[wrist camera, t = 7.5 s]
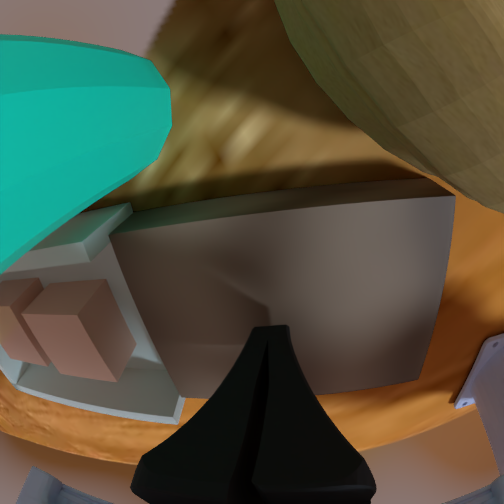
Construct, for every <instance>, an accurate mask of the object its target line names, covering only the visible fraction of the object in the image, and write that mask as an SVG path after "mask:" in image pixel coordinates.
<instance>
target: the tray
mask: <svg viewBox="0 0 504 504" xmlns="http://www.w3.org/2000/svg"><path fill="white" fill-rule="evenodd" d="M132 213H133V210H132V206H131V203H130V202H129V203H124V204H119V205H115V206H110V207H105V208H101V209H97V210H92V211H88V212H84V213H80V214H77V215H76V216H74V217H73V218H71V219H70V220H68V221H67V222H66V223H64V224H63V225H62V226H60V227H59V228H58V229H56V230H55V231H54V232H52V233H51V234H50V235H48V236H47V237H46V238H44V239H43V240H42V241H40V242H39V243H38V244H37V245H35V246H34V247H33V248H32V249H30V250H29V251H28V252H27V253H25V254H24V255H23V256H22V257H21V258H19V259H18V260H17V261H16V262H15V263H13V264H12V265H11V266H10V267H9V268H8V269H6V270H5V271H4V272H3V273H2V274H1V275H0V283H1V282H2V281H6V280H16V279H27V278H37V277H39V279H40V282H41V284H42V286H43V288H44V289H45V288H46V287H47V286H48V285H49V284H50V283H60V282H72V281H85V280H97V279H106V280H107V282H108V285H109V287H110V289H111V291H112V294H113V296H114V298H115V300H116V303H117V305H118V307H119V309H120V311H121V313H122V315H123V317H124V319H125V322H126V324H127V326H128V328H129V330H130V332H131V334H132V336H133V338H134V339H135V341H136V343H137V345H136V347H135V349H134V351H133V353H132V355H131V357H130V359H129V361H128V363H127V365H126V367H125V369H124V371H123V373H122V375H121V377H120V379H119V381H118V382H111V381H103V380H96V379H89V378H83V377H77V376H71V375H65V374H60V373H59V371H58V370H57V368H56V367H55V366H54V364H53V363H52V361H51V363H50V364H49V366H48V367H47V366H42V365H37V364H32V363H28V362H23V361H19V360H15V359H11V358H10V357H9V356H8V354H7V353H6V351H5V350H4V348H3V347H2V346H1V344H0V369H1V371H2V372H3V373H4V375H5V376H6V377H7V378H8V380H9V381H10V382H11V383H12V385H13V386H14V387H15V388H16V390H19V391H22V392H25V393H28V394H31V395H34V396H37V397H40V398H44V399H47V400H50V401H54V402H57V403H61V404H65V405H69V406H73V407H77V408H81V409H85V410H89V411H94V412H98V413H103V414H108V415H113V416H119V417H124V418H130V419H137V420H143V421H151V422H158V423H167V424H176V425H178V422H179V419H180V415H181V412H182V409H183V405H184V402H185V398H183V397H181V396H180V394H179V392H178V390H177V388H176V387H175V385H174V383H173V381H172V379H171V377H170V375H169V374H168V372H167V370H166V368H165V366H164V364H163V362H162V360H161V358H160V356H159V354H158V352H157V350H156V348H155V346H154V344H153V342H152V340H151V338H150V336H149V334H148V331H147V329H146V327H145V325H144V323H143V321H142V318H141V316H140V314H139V312H138V309H137V307H136V305H135V303H134V300H133V298H132V296H131V293H130V291H129V288H128V286H127V283H126V281H125V279H124V276H123V274H122V271H121V268H120V266H119V263H118V261H117V258H116V255H115V253H114V250H113V247H112V244H111V242H110V239H109V236H108V235H109V234H110V233H111V232H112V231H113V230H114V229H115V228H116V227H117V226H119V225H120V224H121V223H122V222H123V221H124V220H125V219H126V218H128V217H129V216H130V215H131V214H132Z"/></svg>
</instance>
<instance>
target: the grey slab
mask: <svg viewBox="0 0 504 504" xmlns="http://www.w3.org/2000/svg"><path fill="white" fill-rule="evenodd" d="M455 198H456V196H455V195H454V194H452V193H451V192H449V191H448V190H446V189H445V188H443V187H442V186H440V185H439V184H437V183H436V182H434V181H432V180H431V179H429V178H419V179H400V180H384V181H370V182H357V183H345V184H334V185H323V186H313V187H303V188H294V189H285V190H277V191H268V192H260V193H253V194H245V195H238V196H231V197H224V198H217V199H210V200H203V201H197V202H191V203H184V204H178V205H172V206H166V207H161V208H155V209H149V210H144V211H138V212H133V213H132V214H131V215H130V216H129V217H128V218H126V219H125V220H124V221H123V222H122V223H121V224H120V225H119V226H117V227H116V228H115V229H114V230H113V231H112V232H111V233H110V234H109V235H108V236H109V239H110V242H111V244H112V247H113V250H114V253H115V255H116V258H117V261H118V263H119V266H120V268H121V271H122V274H123V276H124V279H125V281H126V283H127V286H128V288H129V291H130V293H131V296H132V298H133V300H134V303H135V305H136V307H137V309H138V312H139V314H140V316H141V318H142V321H143V323H144V325H145V327H146V329H147V331H148V334H149V336H150V338H151V340H152V342H153V344H154V346H155V348H156V350H157V352H158V354H159V356H160V358H161V360H162V362H163V364H164V366H165V368H166V370H167V372H168V374H169V375H170V377H171V379H172V381H173V383H174V385H175V387H176V388H177V390H178V392H179V394H180V396H181V397H183V398H205V399H209V398H210V397H211V396H212V395H213V394H214V392H215V391H216V390H217V388H218V387H219V386H220V384H221V383H222V381H223V380H224V379H225V377H226V376H227V374H228V373H229V371H230V370H231V368H232V367H233V365H234V363H235V361H236V360H237V358H238V356H239V355H240V353H241V351H242V349H243V347H244V345H245V343H246V341H247V339H248V337H249V335H250V333H251V330H252V329H253V328H254V327H259V326H273V325H285V324H286V325H288V326H289V327H290V336H291V342H292V345H293V349H294V352H295V355H296V357H297V360H298V362H299V365H300V367H301V369H302V372H303V374H304V376H305V378H306V380H307V382H308V384H309V386H310V388H311V390H312V391H313V393H314V395H323V394H333V393H341V392H349V391H357V390H364V389H370V388H376V387H382V386H388V385H393V384H399V383H404V382H409V381H413V380H418V378H419V375H420V373H421V370H422V367H423V363H424V360H425V357H426V354H427V351H428V347H429V344H430V340H431V337H432V333H433V330H434V326H435V322H436V318H437V314H438V310H439V306H440V301H441V297H442V292H443V287H444V282H445V277H446V271H447V265H448V259H449V253H450V246H451V239H452V230H453V221H454V211H455Z"/></svg>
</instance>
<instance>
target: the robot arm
mask: <svg viewBox="0 0 504 504" xmlns="http://www.w3.org/2000/svg"><path fill="white" fill-rule="evenodd" d="M473 403H475V404H476V407H477V409H478V411H479V414H480V417H481V419H482V422H483V425H484V427H485V430H486V433H487V436H488V438H489V441H490V444H491V447H492V450H493V453H494V457H495V460H496V463H497V466H498V470H499V473H500V477H498V478H497V479H495V480H494V481H493V482H492V483H491V484H490V485H487V486H485V487H483V488H481V489H479V490H476V491H474V492H471V493H469V494H467V495H464V496H461V497H459V498H456V499H454V500H451V501H448V502H445V503H442V504H504V333H503V334H500V335H497V336H493V337H490V338H488V339H486V340H485V341H484V343H483V345H482V347H481V350H480V352H479V354H478V357H477V359H476V361H475V363H474V365H473V368H472V370H471V372H470V374H469V376H468V378H467V380H466V382H465V384H464V386H463V388H462V390H461V392H460V394H459V395H458V397H457V399H456V401H455V403H454V407H455V409H458V408H461V407H464V406H468V405H470V404H473ZM130 488H131V490H132V492H133V493H134V494H135V495H137V496H138V497H140V498H141V499H143V500H145V501H146V502H148V503H149V504H371V498H372V497H373V496H374V494H375V493H376V484H375V480H374V478H373V475H372V473H371V471H370V469H369V467H368V465H367V463H366V461H365V459H364V458H363V457H362V456H361V455H360V454H359V453H358V452H357V451H356V449H355V448H354V447H353V446H352V445H351V444H350V443H349V442H348V441H347V439H346V438H345V437H344V436H343V435H342V434H341V432H340V431H339V430H338V429H337V427H336V426H335V425H334V423H333V422H332V420H331V419H330V418H329V416H328V415H327V414H326V412H325V411H324V409H323V408H322V406H321V405H320V403H319V401H318V400H317V398H316V396H315V395H314V393H313V391H312V390H311V388H310V386H309V384H308V382H307V380H306V378H305V376H304V374H303V372H302V369H301V367H300V365H299V362H298V360H297V357H296V355H295V352H294V349H293V345H292V342H291V336H290V327H289V326H288V325H286V324H285V325H273V326H259V327H254V328H253V329H252V330H251V333H250V335H249V337H248V339H247V341H246V343H245V345H244V347H243V349H242V351H241V353H240V355H239V356H238V358H237V360H236V361H235V363H234V365H233V367H232V368H231V370H230V371H229V373H228V374H227V376H226V377H225V379H224V380H223V381H222V383H221V384H220V386H219V387H218V388H217V390H216V391H215V392H214V394H213V395H212V396H211V397H210V398H209V400H208V401H207V402H206V403H205V404H204V405H203V406H202V407H201V408H200V410H199V411H198V412H197V413H196V414H195V415H194V416H193V417H192V418H191V419H190V420H189V421H188V422H187V423H185V424H184V425H183V426H182V427H181V428H180V429H178V430H177V431H176V432H175V433H174V434H172V435H171V436H170V437H169V438H167V439H166V440H165V441H163V442H162V443H161V444H159V445H158V446H156V447H155V448H153V449H152V450H150V451H149V452H147V453H146V454H144V455H142V457H141V459H140V461H139V463H138V465H137V468H136V470H135V474H134V477H133V480H132V483H131V486H130ZM16 504H113V503H110V502H107V501H104V500H102V499H99V498H96V497H94V496H91V495H88V494H86V493H83V492H81V491H79V490H76V489H74V488H71V487H69V486H67V485H65V484H62V482H61V481H59V480H58V479H56V478H55V477H53V476H52V475H50V474H48V473H46V472H44V471H42V470H40V469H38V468H36V467H34V466H32V468H31V470H30V472H29V474H28V477H27V479H26V481H25V483H24V485H23V488H22V490H21V493H20V495H19V497H18V500H17V502H16Z"/></svg>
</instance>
